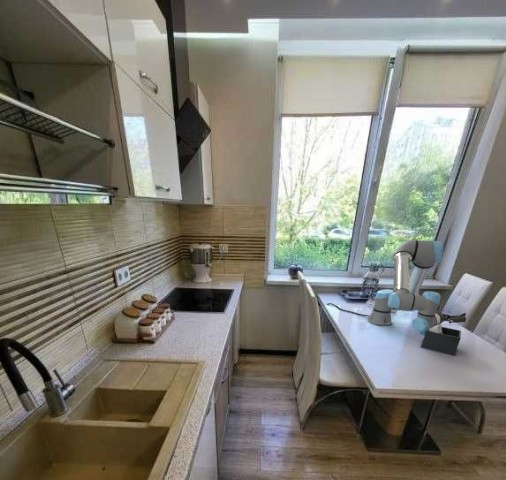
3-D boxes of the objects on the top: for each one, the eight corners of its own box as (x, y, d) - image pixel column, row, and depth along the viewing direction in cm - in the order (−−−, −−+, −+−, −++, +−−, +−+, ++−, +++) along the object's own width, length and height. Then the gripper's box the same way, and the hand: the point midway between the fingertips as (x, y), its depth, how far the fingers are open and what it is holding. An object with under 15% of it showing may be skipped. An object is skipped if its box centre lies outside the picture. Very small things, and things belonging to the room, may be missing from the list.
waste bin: (420, 347, 163) (425, 330, 158) (423, 339, 173) (428, 323, 168) (454, 355, 154) (460, 338, 150) (455, 347, 164) (461, 330, 159)
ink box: (441, 346, 159) (436, 321, 157) (431, 346, 162) (426, 322, 160) (444, 341, 164) (439, 317, 162) (435, 342, 168) (430, 319, 166)
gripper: (407, 318, 155) (426, 311, 166) (457, 333, 136) (474, 325, 147) (411, 305, 152) (429, 299, 163) (462, 319, 133) (479, 311, 144)
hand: (450, 311), depth 155 cm, fingers open, 13 cm apart
